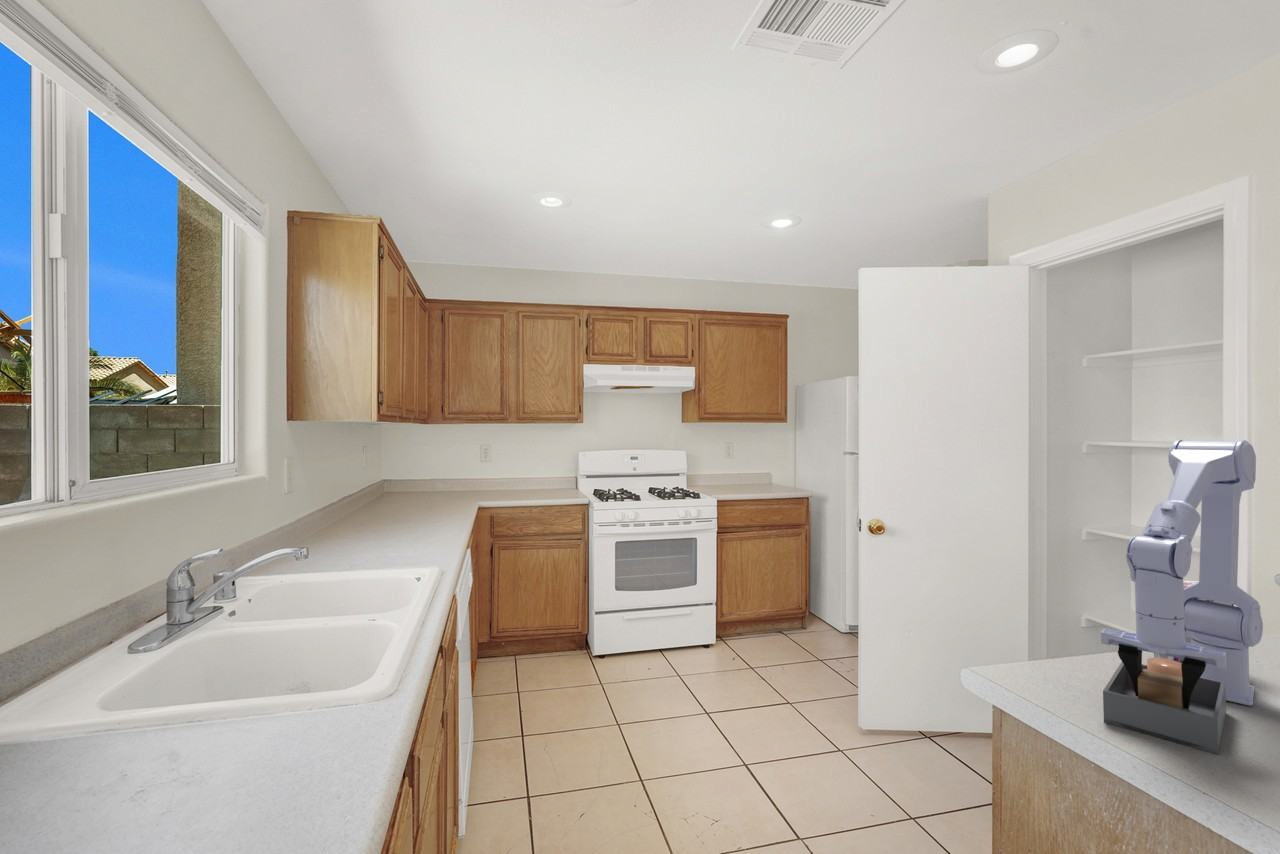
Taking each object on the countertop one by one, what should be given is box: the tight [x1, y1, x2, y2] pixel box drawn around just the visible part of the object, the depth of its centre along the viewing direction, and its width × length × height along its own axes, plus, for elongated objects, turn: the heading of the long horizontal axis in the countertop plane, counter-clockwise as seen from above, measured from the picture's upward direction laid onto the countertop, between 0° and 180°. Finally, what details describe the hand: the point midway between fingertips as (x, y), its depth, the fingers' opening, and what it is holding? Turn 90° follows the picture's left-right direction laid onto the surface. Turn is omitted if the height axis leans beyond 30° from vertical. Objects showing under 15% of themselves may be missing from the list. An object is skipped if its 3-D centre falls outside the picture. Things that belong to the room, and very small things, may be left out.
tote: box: [1102, 661, 1227, 756], centre depth 94 cm, size 17×13×5 cm
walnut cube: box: [1138, 669, 1186, 710], centre depth 91 cm, size 5×5×5 cm
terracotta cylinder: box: [1146, 657, 1189, 711], centre depth 96 cm, size 5×5×7 cm
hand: (1161, 700), depth 91 cm, fingers closed on walnut cube, 5 cm apart
